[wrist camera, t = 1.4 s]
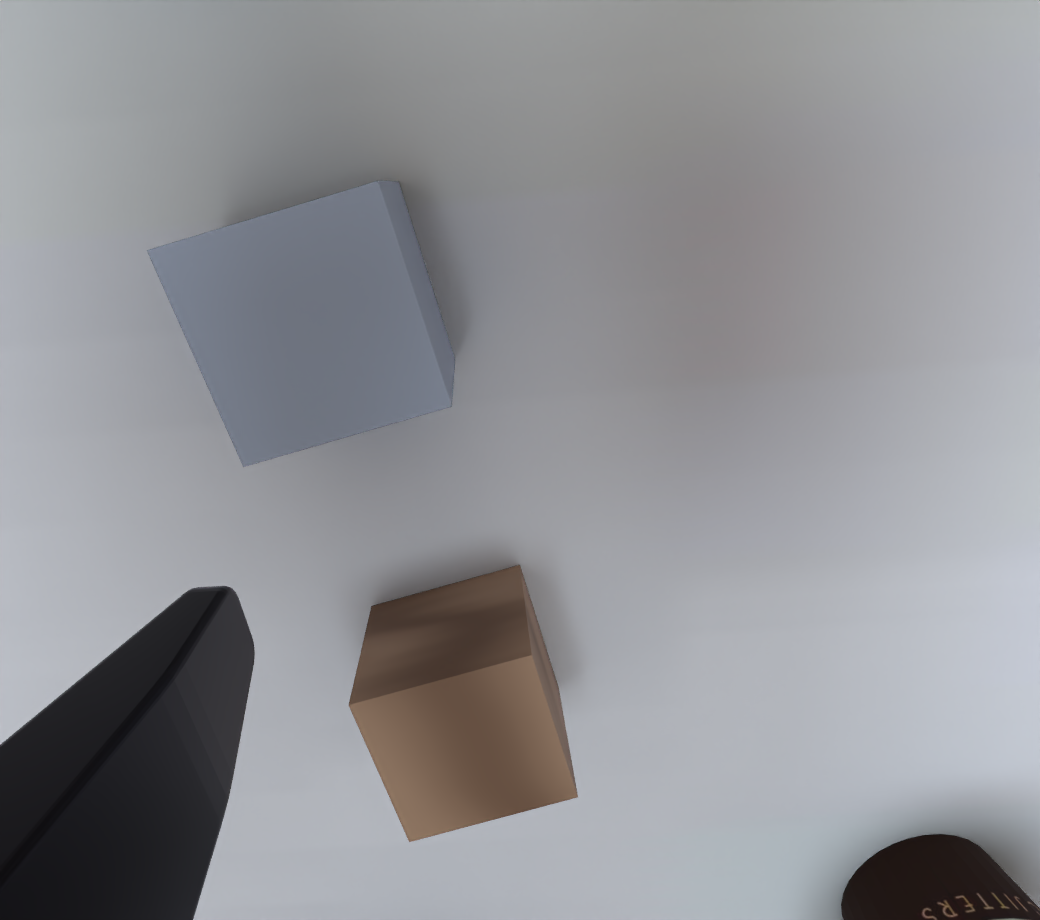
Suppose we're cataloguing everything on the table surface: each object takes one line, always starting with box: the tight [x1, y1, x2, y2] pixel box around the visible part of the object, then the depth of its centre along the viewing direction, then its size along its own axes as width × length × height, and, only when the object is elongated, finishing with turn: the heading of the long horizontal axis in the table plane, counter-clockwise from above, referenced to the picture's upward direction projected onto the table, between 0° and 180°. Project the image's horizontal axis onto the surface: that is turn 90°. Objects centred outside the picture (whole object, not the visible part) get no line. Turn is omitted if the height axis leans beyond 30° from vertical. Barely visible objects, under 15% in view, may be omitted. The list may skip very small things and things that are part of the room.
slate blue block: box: [147, 181, 455, 467], centre depth 19 cm, size 5×5×5 cm
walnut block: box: [349, 565, 578, 842], centre depth 23 cm, size 5×5×5 cm
